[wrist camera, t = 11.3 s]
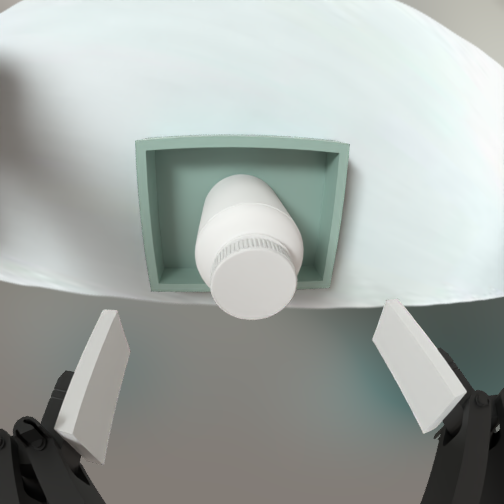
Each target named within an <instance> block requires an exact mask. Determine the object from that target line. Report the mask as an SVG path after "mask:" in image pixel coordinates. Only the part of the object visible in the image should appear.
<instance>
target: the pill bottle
mask: <svg viewBox="0 0 504 504" xmlns="http://www.w3.org/2000/svg"><path fill="white" fill-rule="evenodd" d="M303 251H304V248H303V240H302V237H301V234H300V231H299V229H298V227H297V225H296V224H295V222H294V221H293V219H292V218H291V216H290V215H289V213H288V212H287V210H286V209H285V207H284V206H283V204H282V203H281V201H280V200H279V198H278V197H277V195H276V194H275V192H274V191H273V190H272V188H271V187H270V186H269V185H268V184H267V183H265V182H264V181H263V180H261V179H259V178H257V177H255V176H251V175H246V174H238V175H232V176H229V177H226V178H224V179H222V180H221V181H219V182H218V183H217V184H216V185H215V186H214V187H213V188H212V189H211V190H210V192H209V193H208V195H207V197H206V199H205V202H204V206H203V211H202V216H201V220H200V225H199V230H198V235H197V240H196V245H195V261H196V265H197V269H198V271H199V273H200V275H201V277H202V279H203V280H204V282H205V283H206V284H207V286H208V287H209V288H210V289H211V295H212V296H213V299H214V300H215V303H217V305H218V306H219V307H220V308H221V309H222V310H223V311H224V312H226V313H227V314H229V315H231V316H234V317H236V318H239V319H245V320H258V319H263V318H267V317H270V316H272V315H275V314H276V313H278V312H280V311H281V310H282V309H284V308H285V307H286V306H287V305H288V304H289V302H290V301H291V299H292V298H293V296H294V294H295V292H296V288H297V281H298V279H297V275H298V273H299V270H300V268H301V265H302V261H303Z"/></svg>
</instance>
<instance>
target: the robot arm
mask: <svg viewBox="0 0 504 504" xmlns="http://www.w3.org/2000/svg"><path fill="white" fill-rule="evenodd" d="M372 340H373V342H374V343H375V345H376V347H377V349H378V350H379V352H380V354H381V356H382V357H383V359H384V361H385V362H386V364H387V366H388V368H389V370H390V371H391V373H392V375H393V377H394V379H395V380H396V382H397V384H398V386H399V388H400V389H401V391H402V393H403V395H404V397H405V399H406V401H407V402H408V404H409V406H410V408H411V410H412V412H413V414H414V416H415V418H416V420H417V422H418V424H419V426H420V428H421V429H422V432H423V433H426V432H428V431H431V430H433V429H435V428H436V427H437V426H438V425H439V424H440V423H441V422H442V421H443V423H444V426H443V427H442V428H441V429H440V430H439V431H438V432H437V433H436V434H435V436H434V439H435V438H437V437H438V436H439V434H441V435H440V437H439V438H438V440H439V444H438V448H437V452H436V456H435V460H434V464H433V467H432V471H431V474H430V477H429V481H428V484H427V487H426V490H425V493H424V495H423V498H422V501H421V504H504V388H503V389H502V390H501V392H500V393H499V394H498V395H491V396H488V395H487V394H486V393H485V392H483V391H480V390H476V391H475V390H474V389H473V388H472V387H471V385H470V384H469V382H468V381H467V379H466V378H465V377H464V375H463V374H462V372H461V371H460V369H458V367H457V365H456V364H455V363H454V362H453V360H452V358H451V357H450V356H449V354H448V353H446V352H445V351H444V350H443V349H441V348H438V349H437V348H436V347H435V346H434V344H433V343H432V342H431V340H430V339H429V338H428V336H427V335H426V334H425V332H424V331H423V330H422V329H421V327H420V326H419V325H418V323H417V322H416V321H415V320H414V319H413V317H412V316H411V315H410V313H409V312H408V311H407V310H406V308H405V307H404V306H403V305H402V303H401V302H400V301H399V300H398V299H392V300H386V302H385V305H384V308H383V311H382V314H381V317H380V320H379V323H378V325H377V328H376V331H375V334H374V336H373V339H372ZM130 352H131V351H130V348H129V345H128V343H127V339H126V336H125V333H124V330H123V327H122V324H121V320H120V317H119V314H118V311H117V310H103V311H102V313H101V315H100V317H99V319H98V322H97V323H96V325H95V328H94V330H93V332H92V334H91V336H90V338H89V340H88V343H87V345H86V347H85V349H84V352H83V354H82V356H81V358H80V361H79V363H78V365H77V368H76V370H75V372H71V371H65V372H64V373H63V374H62V375H61V376H60V377H59V379H58V381H57V383H56V385H55V388H54V391H53V392H52V395H51V398H50V400H49V402H48V405H47V408H46V410H45V413H44V416H43V418H42V421H41V424H40V423H39V422H38V421H37V420H36V419H34V418H33V417H29V416H26V417H22V418H21V419H19V420H18V421H17V422H16V423H15V425H14V428H13V436H10V435H9V434H8V433H7V432H6V431H4V430H3V429H0V504H106V503H105V502H104V500H103V499H102V497H101V496H100V494H99V493H98V491H97V489H96V488H95V486H94V485H93V483H92V481H91V480H90V478H89V477H88V475H87V473H86V471H85V469H84V468H83V466H82V464H81V463H80V458H81V456H82V457H83V458H84V459H85V460H86V461H88V462H92V463H96V464H101V465H104V461H105V455H106V450H107V445H108V440H109V435H110V430H111V425H112V421H113V417H114V412H115V408H116V404H117V400H118V396H119V392H120V388H121V384H122V380H123V377H124V373H125V369H126V366H127V362H128V359H129V355H130ZM499 424H500V430H499V431H498V432H496V429H495V428H496V427H497V426H498V425H499Z"/></svg>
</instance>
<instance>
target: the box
mask: <svg viewBox="0 0 504 504" xmlns="http://www.w3.org/2000/svg"><path fill="white" fill-rule="evenodd" d="M349 147H350V144H347V143H342V142H338V141H333V140H324V139H313V138H301V137H287V136H268V135H188V136H169V137H155V138H146V139H142V140H137V141H135V148H136V169H137V184H138V196H139V207H140V216H141V225H142V234H143V241H144V249H145V256H146V262H147V269H148V275H149V281H150V287H151V291H156V292H211V289H210V288H209V287H208V286H207V284H206V283H205V282H204V280H203V279H202V277H201V275H200V273H199V271H198V269H197V265H196V261H195V245H196V240H197V235H198V230H199V225H200V220H201V216H202V211H203V206H204V202H205V199H206V197H207V195H208V193H209V192H210V190H211V189H212V188H213V187H214V186H215V185H216V184H217V183H218V182H219V181H221V180H222V179H224V178H226V177H229V176H232V175H238V174H246V175H251V176H255V177H257V178H259V179H261V180H263V181H264V182H265V183H267V184H268V185H269V186H270V187H271V188H272V190H273V191H274V192H275V194H276V195H277V197H278V198H279V200H280V201H281V203H282V204H283V206H284V207H285V209H286V210H287V212H288V213H289V215H290V216H291V218H292V219H293V221H294V222H295V224H296V225H297V227H298V229H299V231H300V234H301V237H302V240H303V248H304V251H303V261H302V265H301V268H300V270H299V273H298V275H297V279H298V281H297V288H296V289H318V288H330V283H331V278H332V272H333V267H334V261H335V256H336V250H337V244H338V238H339V231H340V224H341V218H342V210H343V203H344V195H345V187H346V178H347V168H348V158H349Z"/></svg>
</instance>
